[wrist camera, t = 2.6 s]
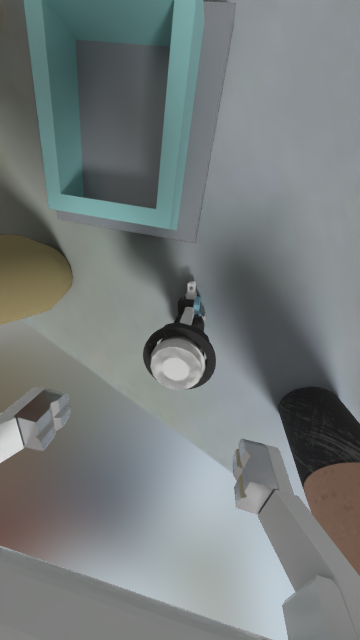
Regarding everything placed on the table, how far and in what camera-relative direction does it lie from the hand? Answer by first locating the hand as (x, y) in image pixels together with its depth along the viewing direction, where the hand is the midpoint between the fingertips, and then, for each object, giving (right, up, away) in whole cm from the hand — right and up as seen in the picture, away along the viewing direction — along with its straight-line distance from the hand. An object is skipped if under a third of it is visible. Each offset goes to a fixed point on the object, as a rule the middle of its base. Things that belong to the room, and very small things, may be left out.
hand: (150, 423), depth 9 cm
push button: (+3, +6, +13) cm, 15 cm away
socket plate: (-3, +20, +8) cm, 22 cm away
